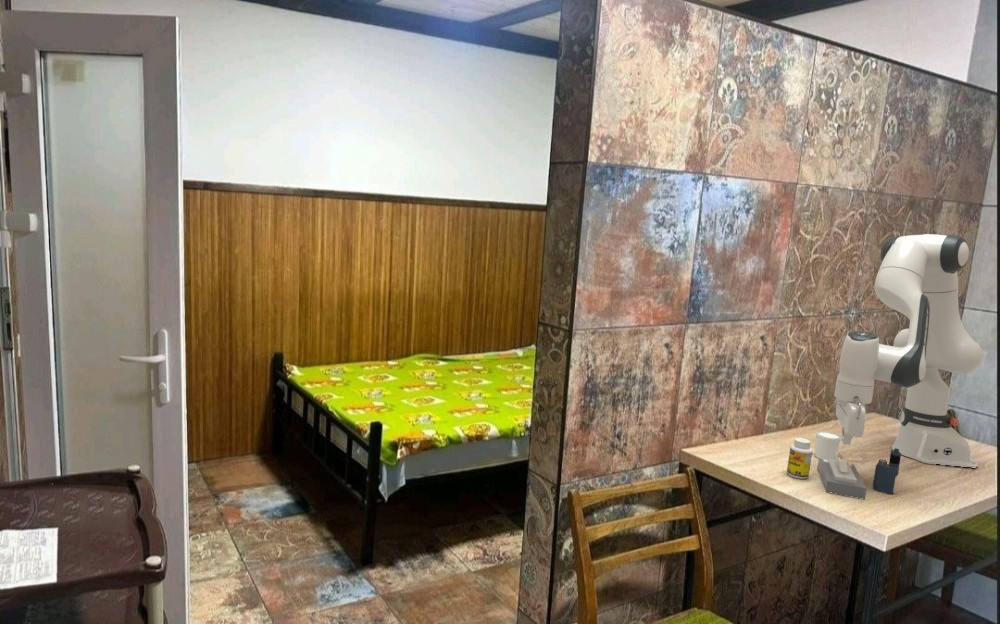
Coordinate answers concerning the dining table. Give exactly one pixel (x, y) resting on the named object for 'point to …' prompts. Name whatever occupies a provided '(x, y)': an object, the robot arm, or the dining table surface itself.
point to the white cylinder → (826, 445)
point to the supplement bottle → (799, 459)
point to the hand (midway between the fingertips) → (845, 443)
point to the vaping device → (887, 473)
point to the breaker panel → (841, 479)
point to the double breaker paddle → (841, 461)
